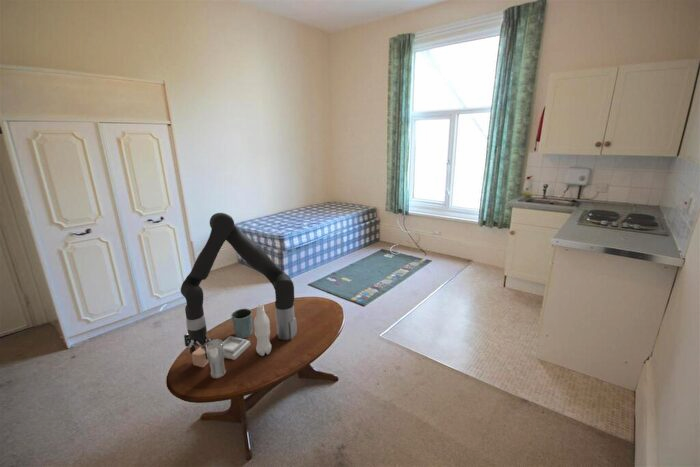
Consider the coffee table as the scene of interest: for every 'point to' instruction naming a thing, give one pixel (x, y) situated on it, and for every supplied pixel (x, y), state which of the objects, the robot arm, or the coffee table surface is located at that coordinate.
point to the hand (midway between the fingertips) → (200, 356)
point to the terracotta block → (199, 358)
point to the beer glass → (216, 358)
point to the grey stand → (234, 347)
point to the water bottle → (262, 331)
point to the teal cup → (242, 323)
